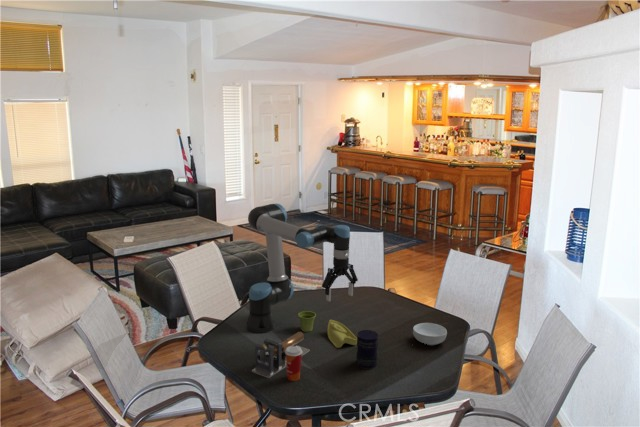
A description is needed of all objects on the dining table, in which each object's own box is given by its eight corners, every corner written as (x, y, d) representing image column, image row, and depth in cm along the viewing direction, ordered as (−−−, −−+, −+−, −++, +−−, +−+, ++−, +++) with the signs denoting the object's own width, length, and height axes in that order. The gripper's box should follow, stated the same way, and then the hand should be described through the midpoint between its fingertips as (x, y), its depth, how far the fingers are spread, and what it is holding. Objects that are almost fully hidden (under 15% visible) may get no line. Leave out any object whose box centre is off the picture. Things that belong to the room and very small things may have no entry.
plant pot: (318, 327, 297) (318, 312, 295) (312, 334, 289) (312, 319, 287) (301, 324, 300) (302, 309, 298) (295, 331, 292) (295, 316, 290)
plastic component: (360, 341, 278) (344, 336, 273) (353, 354, 278) (338, 349, 273) (342, 323, 295) (327, 318, 290) (336, 335, 295) (321, 330, 290)
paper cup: (284, 373, 249) (284, 345, 246) (301, 373, 250) (302, 344, 247) (285, 383, 242) (285, 353, 238) (302, 382, 242) (302, 353, 239)
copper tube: (296, 339, 273) (296, 330, 272) (304, 341, 271) (304, 332, 270) (271, 354, 257) (271, 345, 256) (279, 357, 254) (279, 348, 253)
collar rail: (293, 345, 276) (293, 320, 273) (309, 350, 271) (310, 325, 268) (251, 371, 250) (251, 344, 247) (268, 378, 245) (268, 350, 242)
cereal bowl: (449, 338, 287) (450, 326, 286) (442, 352, 272) (442, 339, 271) (417, 332, 294) (418, 319, 293) (408, 345, 279) (409, 332, 278)
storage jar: (371, 371, 253) (372, 341, 250) (352, 365, 258) (353, 335, 255) (380, 362, 261) (382, 333, 258) (362, 356, 266) (363, 328, 263)
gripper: (324, 263, 258) (323, 305, 263) (366, 255, 272) (364, 295, 277) (315, 258, 264) (314, 300, 269) (356, 251, 278) (354, 290, 283)
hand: (339, 298), depth 273 cm, fingers open, 13 cm apart
